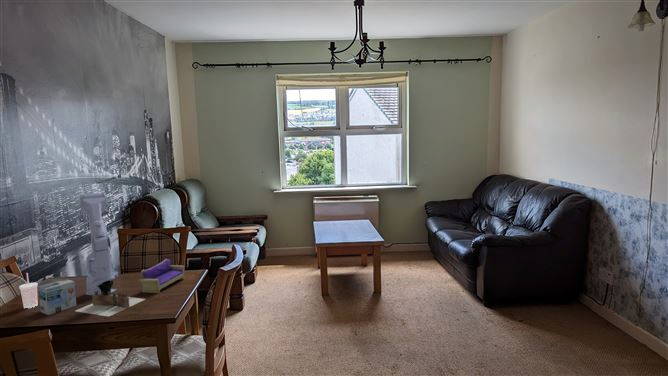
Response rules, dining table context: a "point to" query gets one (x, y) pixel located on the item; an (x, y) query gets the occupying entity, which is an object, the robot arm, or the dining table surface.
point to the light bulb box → (57, 296)
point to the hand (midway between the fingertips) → (106, 299)
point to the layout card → (107, 308)
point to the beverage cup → (29, 294)
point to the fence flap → (104, 298)
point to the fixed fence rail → (122, 300)
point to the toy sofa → (160, 276)
